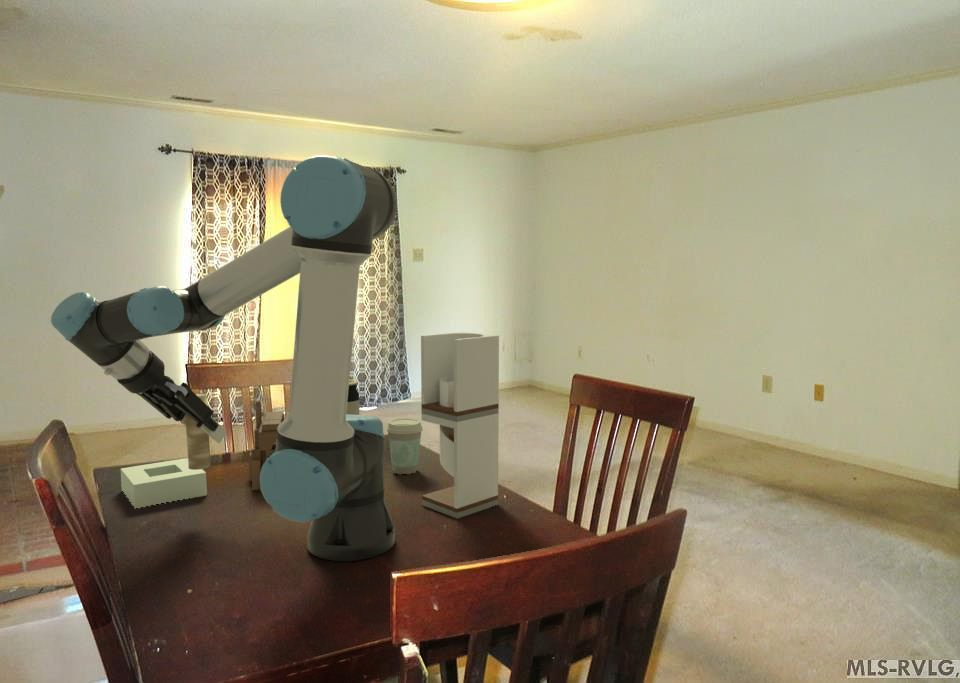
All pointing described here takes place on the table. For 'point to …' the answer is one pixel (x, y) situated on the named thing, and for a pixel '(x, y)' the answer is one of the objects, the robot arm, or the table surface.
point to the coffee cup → (404, 444)
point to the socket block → (162, 483)
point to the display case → (463, 417)
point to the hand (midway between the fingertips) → (213, 436)
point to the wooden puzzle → (263, 442)
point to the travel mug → (353, 398)
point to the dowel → (197, 443)
